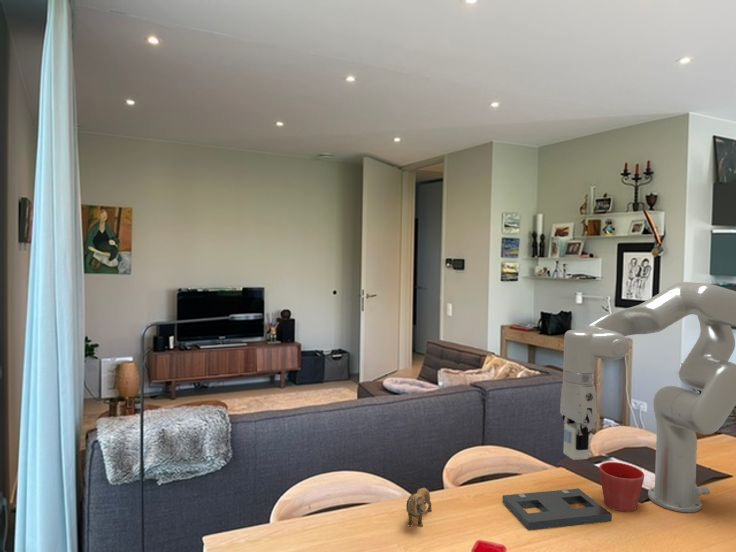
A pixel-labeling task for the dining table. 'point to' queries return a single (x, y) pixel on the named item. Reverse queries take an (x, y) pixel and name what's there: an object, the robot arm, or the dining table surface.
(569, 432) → the plug
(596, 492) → the dining table surface
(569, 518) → the panel
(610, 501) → the flower pot
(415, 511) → the brown animal figurine
